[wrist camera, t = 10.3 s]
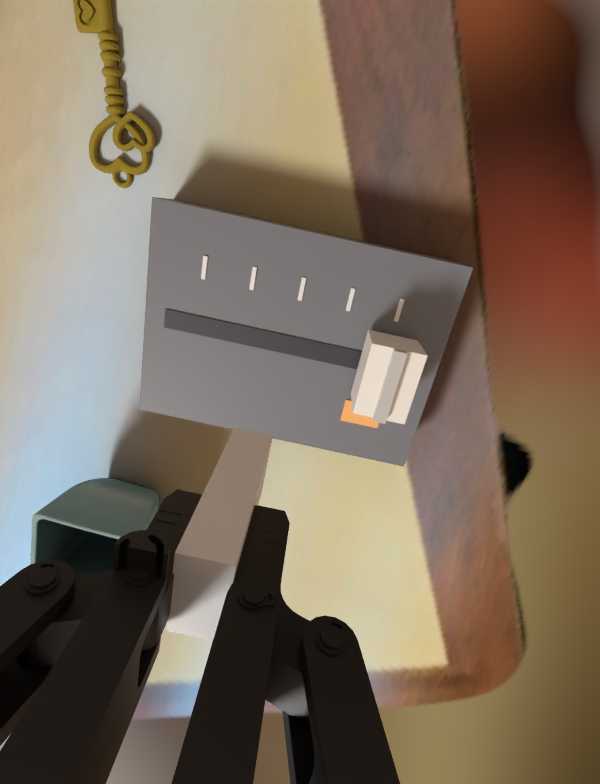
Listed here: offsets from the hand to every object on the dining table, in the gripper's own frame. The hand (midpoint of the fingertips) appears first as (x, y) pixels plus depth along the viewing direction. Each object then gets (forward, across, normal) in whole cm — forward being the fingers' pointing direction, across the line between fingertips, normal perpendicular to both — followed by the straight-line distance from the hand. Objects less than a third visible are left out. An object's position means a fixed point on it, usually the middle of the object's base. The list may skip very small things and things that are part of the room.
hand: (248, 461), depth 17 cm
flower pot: (+21, -13, -21) cm, 32 cm away
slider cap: (+16, +7, 0) cm, 17 cm away
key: (+21, -15, +14) cm, 30 cm away
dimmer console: (+20, 0, 0) cm, 20 cm away
